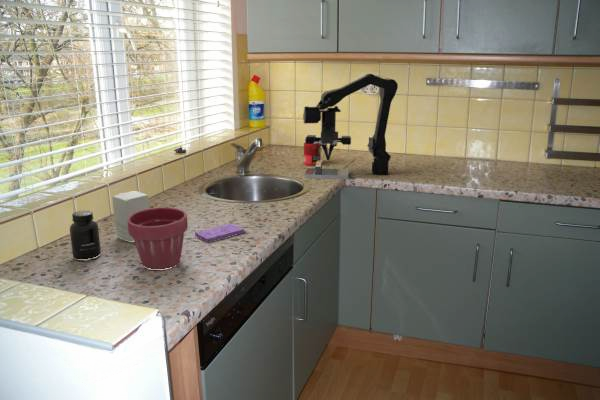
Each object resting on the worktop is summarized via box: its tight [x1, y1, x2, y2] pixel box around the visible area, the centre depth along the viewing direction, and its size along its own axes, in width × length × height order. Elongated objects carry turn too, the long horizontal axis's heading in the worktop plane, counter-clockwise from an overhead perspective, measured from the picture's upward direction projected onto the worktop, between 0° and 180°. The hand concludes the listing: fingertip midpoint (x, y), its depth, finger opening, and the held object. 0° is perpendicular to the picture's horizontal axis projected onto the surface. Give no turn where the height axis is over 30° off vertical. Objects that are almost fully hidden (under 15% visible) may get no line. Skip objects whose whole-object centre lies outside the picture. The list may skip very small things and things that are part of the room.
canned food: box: [303, 139, 322, 167], centre depth 233 cm, size 8×8×11 cm
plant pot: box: [127, 206, 189, 269], centre depth 126 cm, size 14×14×13 cm
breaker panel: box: [304, 159, 350, 180], centre depth 214 cm, size 18×11×5 cm, turn 83°
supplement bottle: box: [69, 210, 102, 259], centre depth 131 cm, size 7×7×12 cm
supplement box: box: [111, 190, 150, 241], centre depth 144 cm, size 7×7×13 cm
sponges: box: [194, 223, 245, 243], centre depth 148 cm, size 7×13×2 cm, turn 130°
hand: (328, 160), depth 213 cm, fingers closed
